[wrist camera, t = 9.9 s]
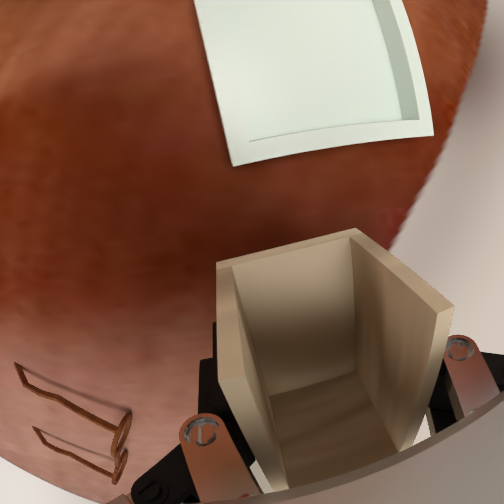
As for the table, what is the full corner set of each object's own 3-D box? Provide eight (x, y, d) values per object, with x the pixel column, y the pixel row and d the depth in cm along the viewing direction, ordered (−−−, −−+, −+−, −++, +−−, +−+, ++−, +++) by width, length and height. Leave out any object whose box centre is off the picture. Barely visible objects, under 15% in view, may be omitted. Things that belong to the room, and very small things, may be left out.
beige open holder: (216, 262, 10) (217, 381, 5) (355, 227, 10) (454, 305, 5) (258, 395, 13) (277, 497, 8) (360, 366, 13) (408, 454, 8)
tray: (176, -70, 9) (173, -90, 7) (343, -76, 9) (355, -91, 7) (231, 162, 16) (233, 166, 14) (410, 133, 16) (433, 135, 14)
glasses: (127, 459, 27) (122, 491, 22) (33, 425, 24) (22, 453, 20) (134, 403, 23) (125, 446, 18) (14, 356, 20) (-7, 390, 15)
